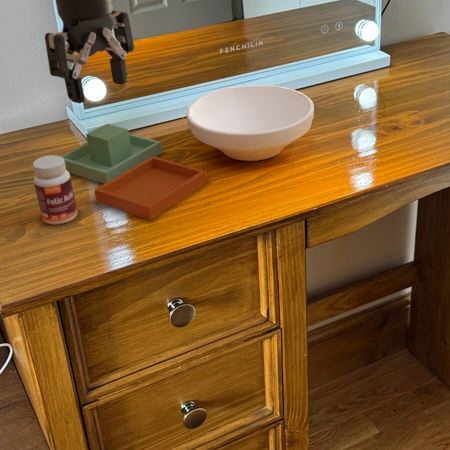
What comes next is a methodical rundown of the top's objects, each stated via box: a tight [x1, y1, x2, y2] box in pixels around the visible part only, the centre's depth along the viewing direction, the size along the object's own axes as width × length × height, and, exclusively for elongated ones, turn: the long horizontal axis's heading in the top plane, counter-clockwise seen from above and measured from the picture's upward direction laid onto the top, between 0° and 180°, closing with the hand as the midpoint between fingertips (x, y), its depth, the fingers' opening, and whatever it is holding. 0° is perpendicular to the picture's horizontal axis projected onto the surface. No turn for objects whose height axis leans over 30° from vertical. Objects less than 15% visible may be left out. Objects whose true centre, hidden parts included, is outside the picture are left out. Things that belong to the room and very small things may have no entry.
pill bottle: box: [32, 154, 78, 225], centre depth 102 cm, size 5×5×8 cm
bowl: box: [185, 84, 315, 162], centre depth 119 cm, size 20×20×7 cm
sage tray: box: [60, 132, 164, 185], centre depth 118 cm, size 12×10×2 cm
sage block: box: [85, 123, 132, 167], centre depth 118 cm, size 4×4×4 cm
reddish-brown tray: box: [94, 156, 208, 221], centre depth 109 cm, size 12×10×2 cm
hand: (99, 92), depth 113 cm, fingers open, 8 cm apart
